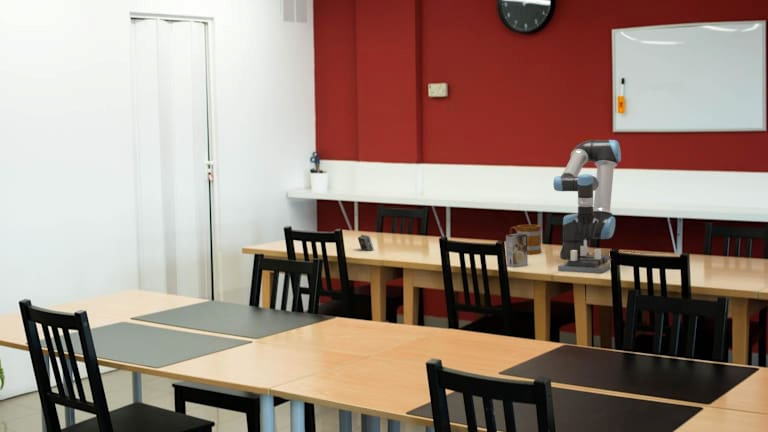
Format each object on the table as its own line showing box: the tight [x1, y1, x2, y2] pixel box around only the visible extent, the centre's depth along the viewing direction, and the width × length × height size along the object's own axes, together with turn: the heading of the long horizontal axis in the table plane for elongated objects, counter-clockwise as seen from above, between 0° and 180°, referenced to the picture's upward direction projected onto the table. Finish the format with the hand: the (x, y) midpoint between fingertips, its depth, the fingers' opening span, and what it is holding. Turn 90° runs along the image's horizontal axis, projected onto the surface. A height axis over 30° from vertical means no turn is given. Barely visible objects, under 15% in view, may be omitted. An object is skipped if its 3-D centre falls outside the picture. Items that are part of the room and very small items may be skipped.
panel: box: [557, 254, 611, 274], centre depth 511 cm, size 26×22×4 cm
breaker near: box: [570, 250, 577, 261], centre depth 505 cm, size 3×2×5 cm
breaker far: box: [580, 246, 587, 256], centre depth 519 cm, size 3×2×5 cm
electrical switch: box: [357, 233, 375, 252], centre depth 590 cm, size 9×5×9 cm, turn 30°
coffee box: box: [505, 233, 529, 268], centre depth 524 cm, size 9×6×16 cm
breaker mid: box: [593, 248, 602, 260], centre depth 508 cm, size 3×2×5 cm
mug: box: [509, 223, 542, 256], centre depth 565 cm, size 20×14×15 cm
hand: (586, 252), depth 511 cm, fingers closed
